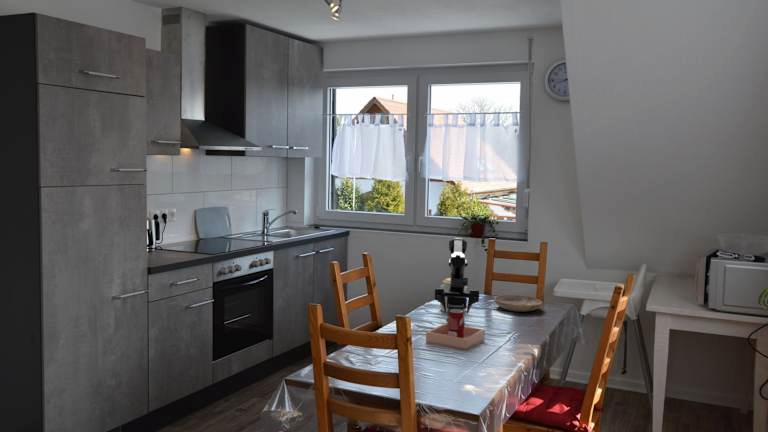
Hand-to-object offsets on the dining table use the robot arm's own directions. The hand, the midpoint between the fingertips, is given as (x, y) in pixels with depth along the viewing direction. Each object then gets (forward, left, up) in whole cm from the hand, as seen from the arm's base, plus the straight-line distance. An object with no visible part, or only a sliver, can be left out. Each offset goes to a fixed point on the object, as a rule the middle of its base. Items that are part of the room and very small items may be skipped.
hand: (456, 312), depth 287 cm
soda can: (+2, -4, -10) cm, 11 cm away
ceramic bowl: (+2, +67, -11) cm, 68 cm away
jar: (-23, +45, -11) cm, 52 cm away
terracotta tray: (+2, -4, -11) cm, 12 cm away
